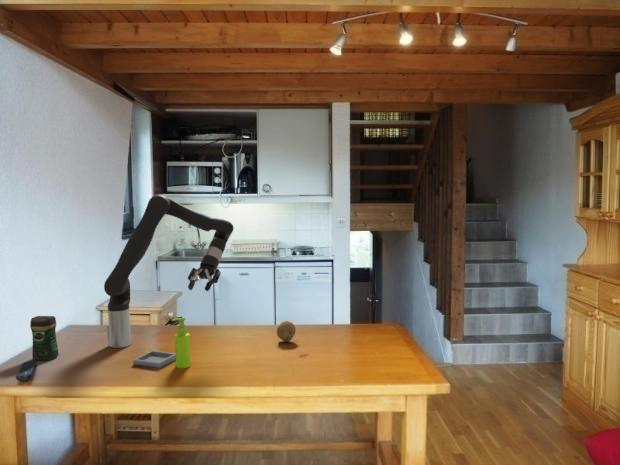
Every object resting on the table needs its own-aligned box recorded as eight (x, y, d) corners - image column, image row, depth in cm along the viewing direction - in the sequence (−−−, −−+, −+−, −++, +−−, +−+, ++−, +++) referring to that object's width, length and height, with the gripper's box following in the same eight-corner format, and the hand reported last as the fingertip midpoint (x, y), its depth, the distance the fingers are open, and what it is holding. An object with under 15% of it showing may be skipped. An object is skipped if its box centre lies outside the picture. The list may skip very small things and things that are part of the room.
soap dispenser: (174, 363, 200) (173, 316, 198) (191, 362, 201) (190, 316, 199) (172, 368, 194) (170, 320, 192) (189, 368, 195) (187, 319, 193)
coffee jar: (61, 355, 212) (59, 313, 210) (50, 361, 204) (47, 318, 202) (41, 354, 213) (38, 313, 211) (29, 361, 205) (26, 318, 203)
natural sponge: (293, 345, 221) (292, 324, 220) (274, 344, 222) (274, 323, 221) (297, 339, 229) (297, 319, 228) (279, 338, 231) (279, 318, 230)
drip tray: (133, 365, 199) (133, 359, 198) (152, 355, 210) (152, 350, 210) (159, 369, 194) (159, 363, 194) (177, 359, 205) (177, 353, 205)
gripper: (194, 253, 217) (180, 284, 208) (221, 254, 211) (207, 285, 202) (202, 263, 222) (188, 293, 213) (228, 264, 217) (215, 295, 207)
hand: (198, 289), depth 207 cm, fingers open, 8 cm apart
